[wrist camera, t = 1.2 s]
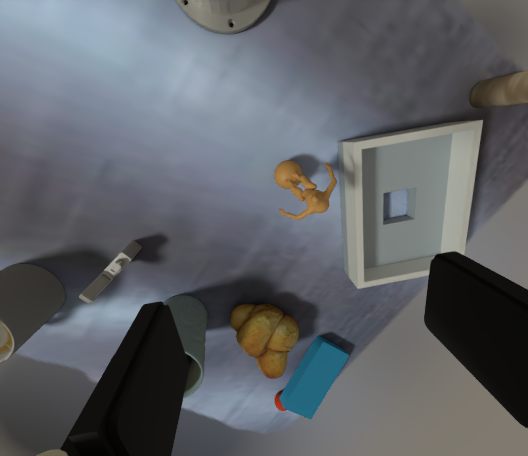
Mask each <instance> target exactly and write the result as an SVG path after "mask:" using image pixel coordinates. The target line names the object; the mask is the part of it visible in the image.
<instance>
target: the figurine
mask: <svg viewBox="0 0 528 456" xmlns="http://www.w3.org/2000/svg"><path fill="white" fill-rule="evenodd" d="M324 164H325V163H324ZM325 165H326V166H325ZM325 165H324V166H325V167H327V168H328V169H329V175H330V177H331V180H332V183H331V184H330V185H329V186H328V188H327V189H326V191H324V192H322V191H319V190H315V189H316V188H317V186H316V184H314V183H312V182H311V181H310V179H308V178H307V177H305V176H304V175H302V169H301V167H300V166H299V165H298V164H297V163H296V162H294V161H290V160H288V161H283V162H281V163H280V164H279V165H278V166H277V167H276V169H275V173H274V177H275V181H276V183H277V184H278V185H279V186H280V187H282V188H284V189H290V190H291V191H292V192H293V194H294V195H295V196H297V197H298V198H299V200H300V201H304V200H305V198H306V204H307V206H308V208H307V209H306V210H305V211H303V212H302V213H301V214H299V215H298V216H297V215H293V214H291V213H285V212H284V211H283V209H282V210H281V209H280V208H279V209H280V210H281V211H280V210H279V211H280V213H281V214H283V215H285V216H288V217H291V218H294V219H296V220H300V219H302V218H304V217H305V216H307V215H310V214H312V213H315V212H316V213H323V212H325V211H326V210H327V209H328V207H329V197H330V195H331V192H332V190H333V189H334V187H335V185H336V183H337V181H336V178H335V177H334V174H333V171H332V168H331V166H330V165H329V164H327V163H326V164H325ZM300 182H302V185H303V186H304V187H306V188H307V189H305V190H304V192H303V191H302V189H301V188H299V187H296V186H297V185H299V183H300Z"/></svg>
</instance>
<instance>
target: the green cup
mask: <svg viewBox="0 0 528 456" xmlns="http://www.w3.org/2000/svg"><path fill="white" fill-rule="evenodd" d="M164 305H169V307H170V309H171V312H172V315H173V318H174V321H175V324H176V327H177V330H178V333H179V336H180V339H181V342H182V345H183V348H184V351H185V354H186V357H187V360H188V364H189V373H188V378H187V382H186V387H185V392H184V397H183V398H185V397H188V396H189V395H191V394H192V393H194V392H195V391H196V390H197V389H198V387H199V386H200V384H201V383H202V380H203V376H204V360H205V345H204V344H205V341H206V338H205V333H206V328H207V319H208V313H207V310H206V308H205V306H204V305H203V304H202V303H201V302H200V301H199V300H197V299H196V298H194V297H192V296H187V295H178V296H173V297H171V298H169V299H167V300H166V301H165V302H164Z"/></svg>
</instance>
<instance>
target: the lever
mask: <svg viewBox="0 0 528 456" xmlns="http://www.w3.org/2000/svg"><path fill="white" fill-rule="evenodd" d="M348 357H349V354H348V353H347V352H346V351H345V350H344V349H342V348H340V347H339V346H337V345H335V344H333V343H331V342H329V341H327V340H326V339H324V338H322V337H320V336H317V337H316V339H315V340H314V342H313V343H312V345H311V346H310V348H309V350H308V351H307V353H306V355H305V356H304V358H303V360H302V361H301V363H300V364H299V366H298V368H297V369H296V371H295V373H294V374H293V376H292V378H291V379H290V381H289V382H288V384H287V386H286V387H285V389H284V391H281V392H279V393H277V395H276V396H275V405H276V407H277V408H278V409H279V410H281V411H285V410H289V411H292V412H294V413H297V414H299V415H302V416H304V417H306V418H309V419H311V418H312V417H313V415H314V414H315V412H316V410H317V409H318V407H319V405H320V404H321V402H322V400H323V399H324V397H325V395H326V394H327V392H328V390H329V389H330V387H331V385H332V384H333V382H334V380H335V379H336V377H337V376H338V374H339V372H340V371H341V369H342V367H343V366H344V364H345V362H346V361H347V359H348Z"/></svg>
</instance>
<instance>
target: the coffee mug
mask: <svg viewBox="0 0 528 456" xmlns="http://www.w3.org/2000/svg"><path fill="white" fill-rule="evenodd" d="M64 301H65V290H64V287H63V285H62V284H61V282H60V281H59V280H58V278H57V277H56V276H55V275H53V274H52V273H51V272H49V271H48V270H46V269H44V268H41V267H39V266H36V265H31V264H15V265H11V266H8V267H6V268H5V269H3V270H1V271H0V363H2V362H4V361H6V360H7V359H8V358H9V357H11V355H13V354H14V353H15V352H16V351H17V350H18V349H19V348H20V347H21V346H22V345H23V344H24V343H25V342H26V341H27V340H28V339H29V338H30V337H31V336H32V335H33V334H34V333H35V332H36V331H37V330H39V329H40V328H41V327H42V326H43V325H44V324H45V323H46V322H47V321H48V320H49V319H50V318H51V317H52V316H53V315H54V314H55V313H56V312H57V311H58V310H59V309H60V308H61V307H62V306H63V304H64Z"/></svg>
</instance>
